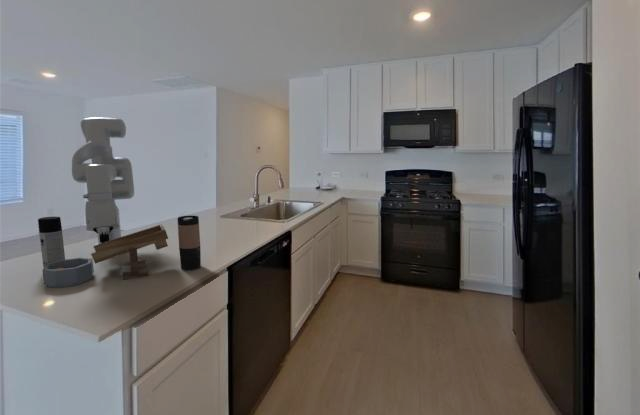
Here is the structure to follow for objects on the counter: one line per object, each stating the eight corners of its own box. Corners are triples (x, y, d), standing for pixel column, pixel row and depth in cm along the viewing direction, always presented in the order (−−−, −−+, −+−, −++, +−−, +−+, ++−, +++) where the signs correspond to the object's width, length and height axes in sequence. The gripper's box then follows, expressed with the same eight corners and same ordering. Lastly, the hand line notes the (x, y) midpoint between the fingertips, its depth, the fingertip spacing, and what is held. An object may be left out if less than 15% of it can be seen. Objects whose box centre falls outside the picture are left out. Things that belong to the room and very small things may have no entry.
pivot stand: (122, 265, 128) (120, 239, 127) (145, 262, 133) (143, 237, 131) (122, 280, 113) (119, 251, 112) (148, 276, 117) (145, 248, 116)
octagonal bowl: (50, 277, 115) (47, 261, 114) (94, 271, 122) (93, 255, 121) (42, 291, 104) (39, 273, 103) (92, 283, 111) (90, 266, 110)
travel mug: (193, 263, 132) (191, 214, 129) (205, 266, 128) (202, 216, 124) (176, 268, 126) (173, 217, 123) (188, 272, 121) (184, 220, 118)
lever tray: (101, 256, 129) (95, 240, 127) (165, 234, 140) (160, 220, 138) (98, 271, 112) (91, 254, 110) (171, 245, 123) (165, 229, 121)
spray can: (52, 266, 127) (45, 216, 124) (70, 265, 128) (64, 216, 124) (39, 272, 120) (32, 219, 117) (58, 271, 121) (52, 219, 118)
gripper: (74, 199, 116) (80, 248, 119) (123, 196, 124) (127, 243, 126) (77, 197, 122) (82, 244, 125) (123, 194, 130) (127, 239, 133)
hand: (104, 243), depth 126 cm, fingers closed
